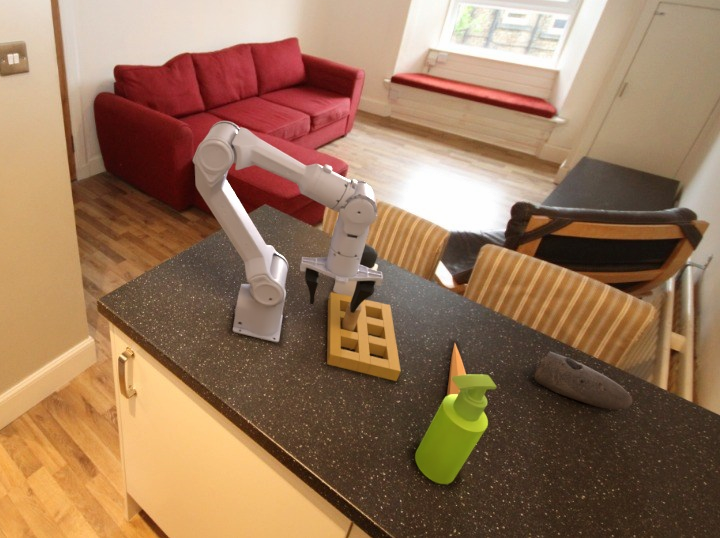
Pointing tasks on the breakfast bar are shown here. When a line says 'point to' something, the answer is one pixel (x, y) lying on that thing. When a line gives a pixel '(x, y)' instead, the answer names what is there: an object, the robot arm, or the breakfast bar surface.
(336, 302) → the peg block
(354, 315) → the peg
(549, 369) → the perforated stone tool
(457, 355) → the carrot
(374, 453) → the breakfast bar surface
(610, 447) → the breakfast bar surface
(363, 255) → the medicine bottle
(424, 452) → the soap dispenser
